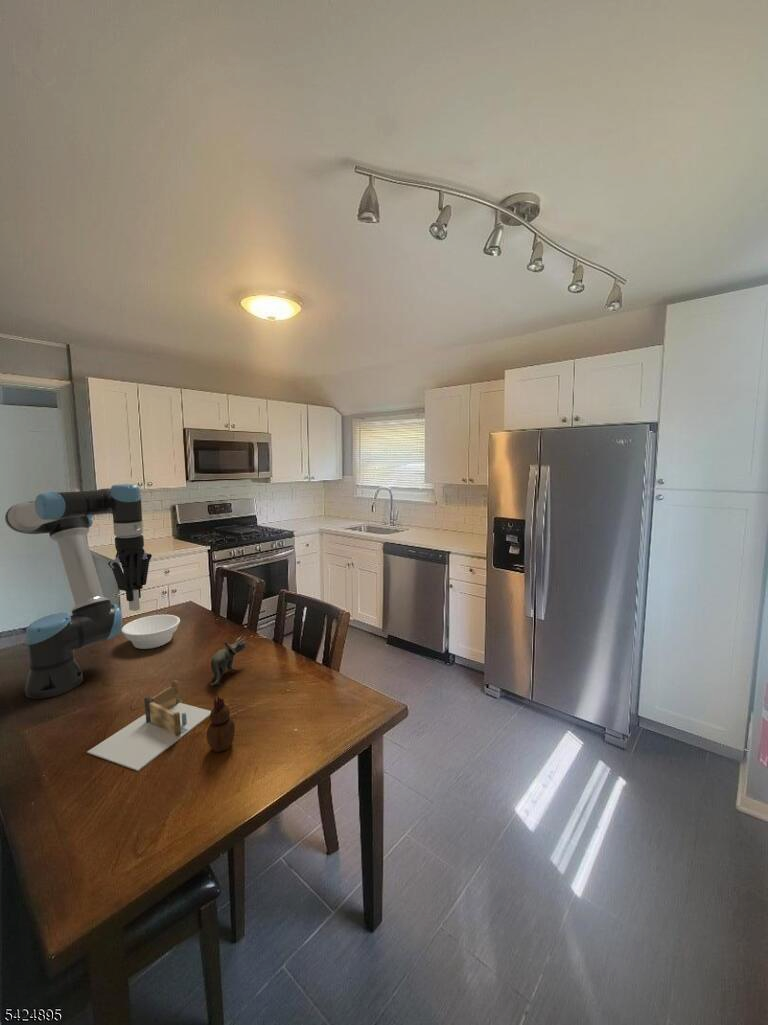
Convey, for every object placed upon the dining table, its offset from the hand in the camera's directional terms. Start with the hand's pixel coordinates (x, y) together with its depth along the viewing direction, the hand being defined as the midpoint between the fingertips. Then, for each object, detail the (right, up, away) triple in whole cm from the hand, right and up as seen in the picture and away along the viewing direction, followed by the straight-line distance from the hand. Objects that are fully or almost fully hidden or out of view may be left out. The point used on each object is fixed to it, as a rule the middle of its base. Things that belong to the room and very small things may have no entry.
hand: (134, 609), depth 131 cm
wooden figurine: (+35, -32, -20) cm, 51 cm away
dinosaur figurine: (+22, -27, +14) cm, 38 cm away
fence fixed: (+12, -30, -5) cm, 32 cm away
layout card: (+14, -31, -14) cm, 37 cm away
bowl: (-17, -24, +42) cm, 51 cm away
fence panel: (+17, -30, -14) cm, 37 cm away
